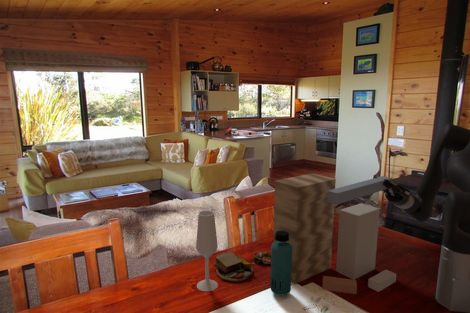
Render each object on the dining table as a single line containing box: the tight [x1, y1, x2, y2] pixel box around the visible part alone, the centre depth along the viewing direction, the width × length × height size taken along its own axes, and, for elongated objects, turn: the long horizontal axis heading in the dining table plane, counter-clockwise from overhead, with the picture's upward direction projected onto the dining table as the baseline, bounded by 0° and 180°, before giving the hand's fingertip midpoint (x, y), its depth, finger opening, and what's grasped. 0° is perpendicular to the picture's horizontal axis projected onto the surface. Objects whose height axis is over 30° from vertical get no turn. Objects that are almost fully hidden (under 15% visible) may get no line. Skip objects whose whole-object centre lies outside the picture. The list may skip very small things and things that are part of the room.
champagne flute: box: [195, 210, 219, 292], centre depth 105 cm, size 7×7×24 cm
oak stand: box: [272, 172, 337, 284], centre depth 114 cm, size 18×10×32 cm, turn 126°
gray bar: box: [327, 175, 393, 205], centre depth 112 cm, size 30×4×4 cm, turn 126°
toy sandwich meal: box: [213, 251, 254, 282], centre depth 115 cm, size 12×14×5 cm
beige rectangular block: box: [367, 269, 397, 293], centre depth 108 cm, size 10×4×3 cm, turn 126°
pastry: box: [252, 250, 271, 266], centre depth 123 cm, size 7×12×4 cm, turn 79°
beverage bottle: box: [269, 230, 292, 296], centre depth 101 cm, size 6×7×20 cm
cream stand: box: [335, 202, 381, 280], centre depth 115 cm, size 12×7×22 cm, turn 126°
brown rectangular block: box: [322, 275, 358, 295], centre depth 105 cm, size 10×4×3 cm, turn 76°
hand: (379, 180), depth 117 cm, fingers closed on gray bar, 3 cm apart
